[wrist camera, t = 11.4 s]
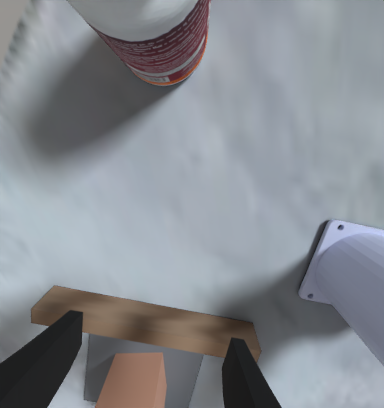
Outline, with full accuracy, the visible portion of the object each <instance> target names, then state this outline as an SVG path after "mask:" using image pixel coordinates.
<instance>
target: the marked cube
mask: <svg viewBox="0 0 384 408" xmlns="http://www.w3.org/2000/svg"><path fill="white" fill-rule="evenodd" d="M166 390H167V384H166V376H165V368H164V360H163V352H160V353H116V354H115V357H114V359H113V362H112V365H111V367H110V370H109V372H108V375H107V378H106V380H105V383H104V385H103V388H102V390H101V393H100V396H99V398H98V401H97V403H96V406H95V408H164V406H165V398H166Z"/></svg>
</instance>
